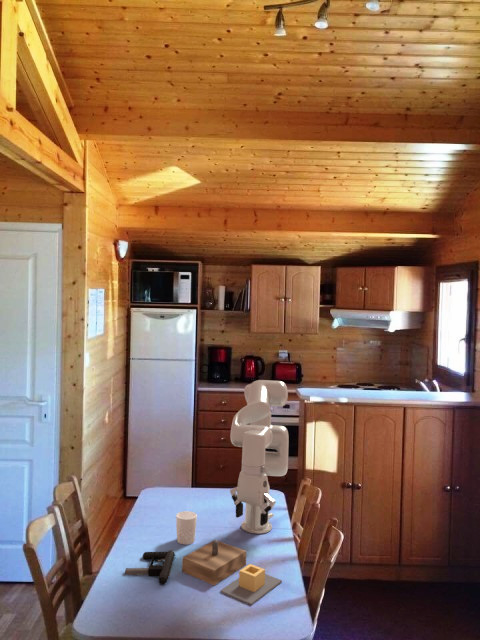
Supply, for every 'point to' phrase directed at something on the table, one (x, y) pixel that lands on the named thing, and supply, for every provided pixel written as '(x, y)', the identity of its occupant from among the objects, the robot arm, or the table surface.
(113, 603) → the table surface
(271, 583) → the mat
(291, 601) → the table surface
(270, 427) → the robot arm
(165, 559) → the door handle
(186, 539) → the white cup
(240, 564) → the stand
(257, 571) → the collar
